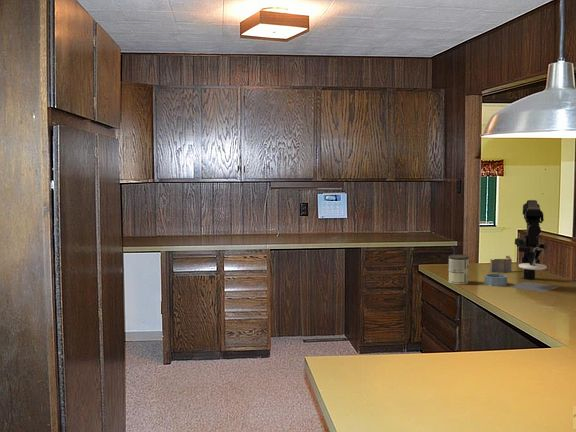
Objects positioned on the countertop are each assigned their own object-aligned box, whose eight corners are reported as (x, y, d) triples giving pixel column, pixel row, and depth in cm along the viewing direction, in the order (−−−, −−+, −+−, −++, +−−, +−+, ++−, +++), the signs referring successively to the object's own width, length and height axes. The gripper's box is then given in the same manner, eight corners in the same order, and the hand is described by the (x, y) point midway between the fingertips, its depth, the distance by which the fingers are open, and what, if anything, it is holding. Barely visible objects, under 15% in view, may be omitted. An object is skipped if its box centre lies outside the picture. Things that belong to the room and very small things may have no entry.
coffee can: (446, 280, 320) (447, 254, 319) (466, 280, 319) (466, 254, 318) (449, 284, 310) (450, 257, 309) (470, 284, 309) (470, 257, 308)
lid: (526, 264, 307) (526, 255, 307) (551, 267, 298) (551, 258, 297) (513, 267, 299) (514, 258, 298) (539, 270, 289) (539, 261, 289)
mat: (525, 282, 311) (525, 281, 311) (559, 287, 298) (559, 286, 298) (508, 287, 300) (508, 286, 300) (542, 293, 286) (542, 292, 286)
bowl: (491, 282, 315) (491, 272, 314) (510, 285, 306) (511, 275, 306) (480, 285, 308) (480, 275, 307) (499, 288, 299) (500, 278, 299)
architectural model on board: (509, 271, 344) (509, 255, 343) (511, 272, 341) (511, 256, 340) (489, 272, 344) (490, 255, 343) (491, 273, 341) (492, 256, 340)
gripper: (526, 230, 309) (526, 260, 310) (508, 233, 296) (507, 264, 298) (547, 232, 300) (547, 262, 302) (530, 235, 288) (529, 267, 290)
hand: (532, 264), depth 298 cm, fingers closed on lid, 3 cm apart
